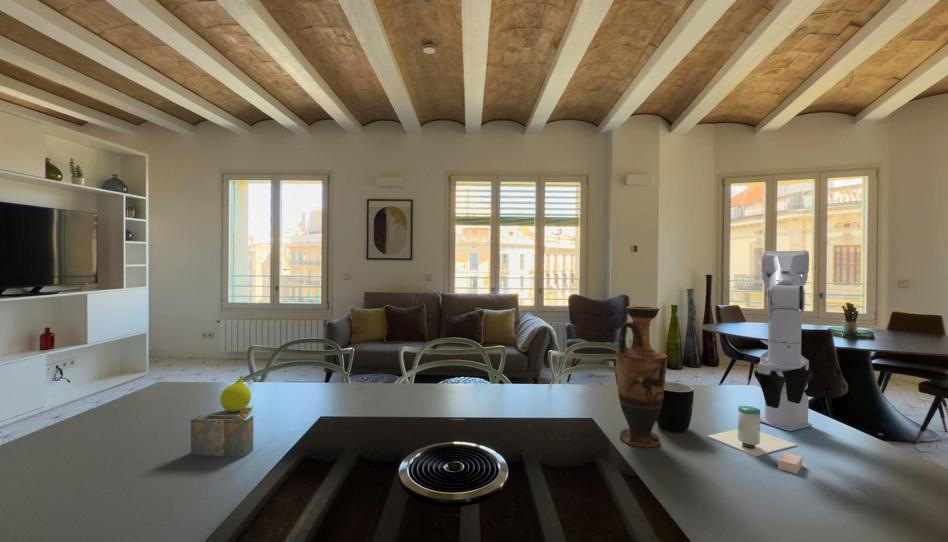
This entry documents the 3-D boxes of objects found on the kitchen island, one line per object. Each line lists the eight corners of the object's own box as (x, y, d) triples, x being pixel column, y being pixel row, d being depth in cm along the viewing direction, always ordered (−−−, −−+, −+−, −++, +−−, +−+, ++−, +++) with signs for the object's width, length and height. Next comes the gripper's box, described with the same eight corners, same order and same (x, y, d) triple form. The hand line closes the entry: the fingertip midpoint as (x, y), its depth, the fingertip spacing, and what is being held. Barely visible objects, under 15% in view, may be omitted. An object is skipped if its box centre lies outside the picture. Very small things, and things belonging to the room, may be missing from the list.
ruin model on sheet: (254, 451, 89) (254, 405, 89) (246, 458, 86) (246, 410, 86) (200, 450, 89) (201, 404, 89) (190, 457, 86) (191, 409, 86)
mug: (698, 436, 98) (699, 392, 98) (658, 433, 100) (658, 390, 100) (681, 418, 110) (682, 379, 110) (645, 416, 112) (646, 377, 111)
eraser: (783, 461, 86) (783, 452, 86) (801, 466, 84) (802, 456, 84) (777, 469, 83) (777, 459, 83) (797, 475, 81) (797, 464, 81)
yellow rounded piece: (252, 405, 116) (252, 369, 116) (249, 414, 110) (249, 375, 110) (222, 408, 114) (223, 371, 114) (217, 417, 107) (217, 377, 107)
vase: (666, 436, 98) (668, 306, 98) (665, 454, 88) (668, 310, 88) (617, 428, 103) (618, 304, 103) (611, 444, 93) (613, 307, 93)
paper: (747, 428, 104) (747, 427, 104) (796, 445, 94) (796, 444, 94) (707, 436, 98) (707, 435, 98) (755, 456, 88) (755, 455, 88)
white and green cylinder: (752, 442, 94) (752, 405, 94) (764, 450, 90) (764, 412, 90) (733, 442, 94) (734, 405, 94) (745, 450, 90) (745, 411, 90)
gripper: (784, 336, 98) (783, 395, 98) (743, 340, 92) (742, 403, 92) (820, 341, 91) (819, 404, 91) (778, 345, 85) (777, 413, 85)
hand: (783, 404), depth 91 cm, fingers open, 7 cm apart
